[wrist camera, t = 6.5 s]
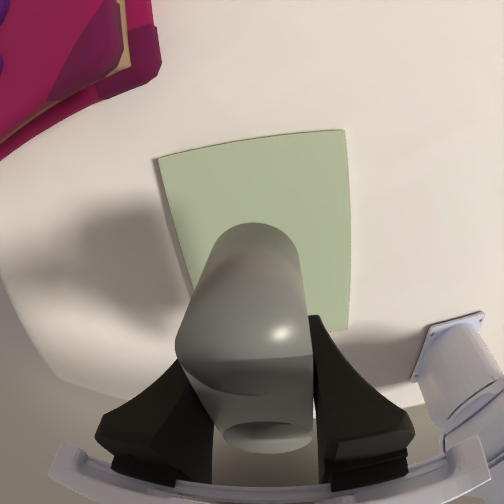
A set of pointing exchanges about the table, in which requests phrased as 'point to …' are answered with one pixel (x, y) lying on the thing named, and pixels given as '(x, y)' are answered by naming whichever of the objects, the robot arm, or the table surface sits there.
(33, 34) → the book
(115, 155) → the table surface
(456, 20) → the table surface
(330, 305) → the sage mat
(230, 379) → the cylinder
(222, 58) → the table surface
